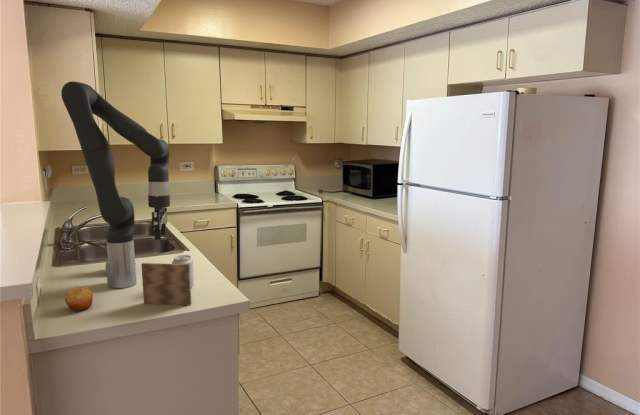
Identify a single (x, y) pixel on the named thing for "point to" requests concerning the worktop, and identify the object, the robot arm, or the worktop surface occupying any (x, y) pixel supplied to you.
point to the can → (186, 260)
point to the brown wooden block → (166, 283)
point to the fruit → (79, 298)
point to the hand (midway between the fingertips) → (160, 237)
